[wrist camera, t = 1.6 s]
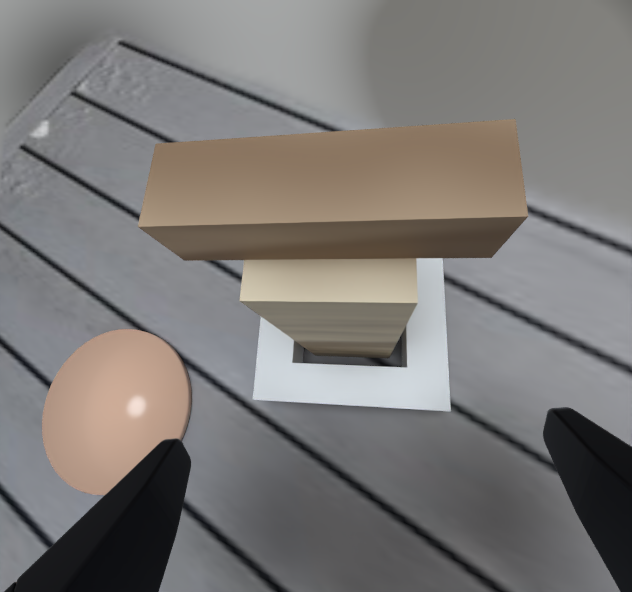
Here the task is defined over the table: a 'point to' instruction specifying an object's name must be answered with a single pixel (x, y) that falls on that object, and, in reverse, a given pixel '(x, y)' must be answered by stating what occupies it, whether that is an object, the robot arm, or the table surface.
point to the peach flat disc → (114, 407)
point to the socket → (367, 381)
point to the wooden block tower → (338, 219)
